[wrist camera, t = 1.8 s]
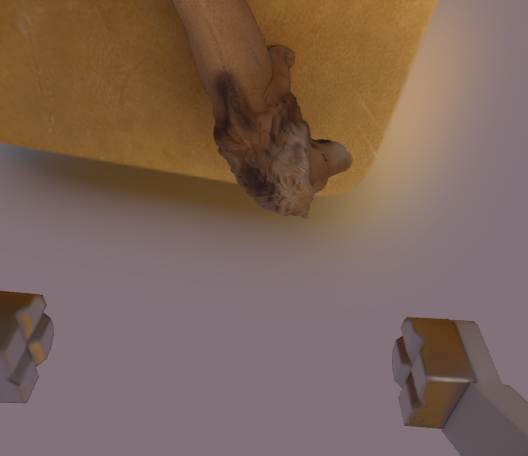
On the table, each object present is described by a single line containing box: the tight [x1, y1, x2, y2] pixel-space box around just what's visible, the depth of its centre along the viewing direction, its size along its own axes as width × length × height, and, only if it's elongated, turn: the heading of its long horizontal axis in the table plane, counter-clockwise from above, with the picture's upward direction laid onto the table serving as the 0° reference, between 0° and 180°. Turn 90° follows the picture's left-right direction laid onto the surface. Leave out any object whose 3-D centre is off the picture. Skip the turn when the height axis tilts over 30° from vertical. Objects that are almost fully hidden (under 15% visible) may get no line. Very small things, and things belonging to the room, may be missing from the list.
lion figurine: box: [171, 0, 352, 218], centre depth 20 cm, size 15×5×9 cm, turn 27°
